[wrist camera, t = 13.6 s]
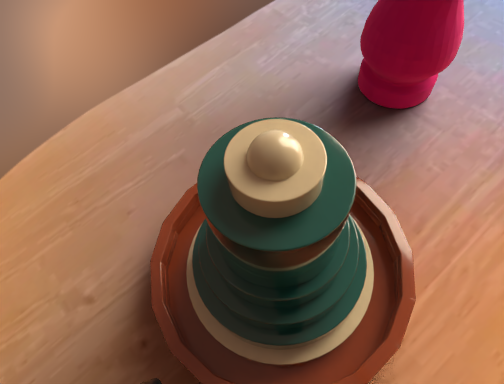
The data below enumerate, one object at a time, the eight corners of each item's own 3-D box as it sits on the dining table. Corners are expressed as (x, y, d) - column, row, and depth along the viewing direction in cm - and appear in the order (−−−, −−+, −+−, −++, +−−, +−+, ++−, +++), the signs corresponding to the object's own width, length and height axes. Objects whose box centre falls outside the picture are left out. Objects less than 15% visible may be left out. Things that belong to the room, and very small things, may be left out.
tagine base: (456, 343, 20) (478, 336, 18) (197, 459, 18) (185, 467, 16) (332, 148, 28) (336, 126, 26) (141, 215, 26) (128, 198, 24)
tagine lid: (406, 320, 20) (550, 224, 9) (221, 400, 19) (139, 395, 8) (319, 171, 26) (345, 5, 15) (172, 224, 24) (85, 83, 14)
